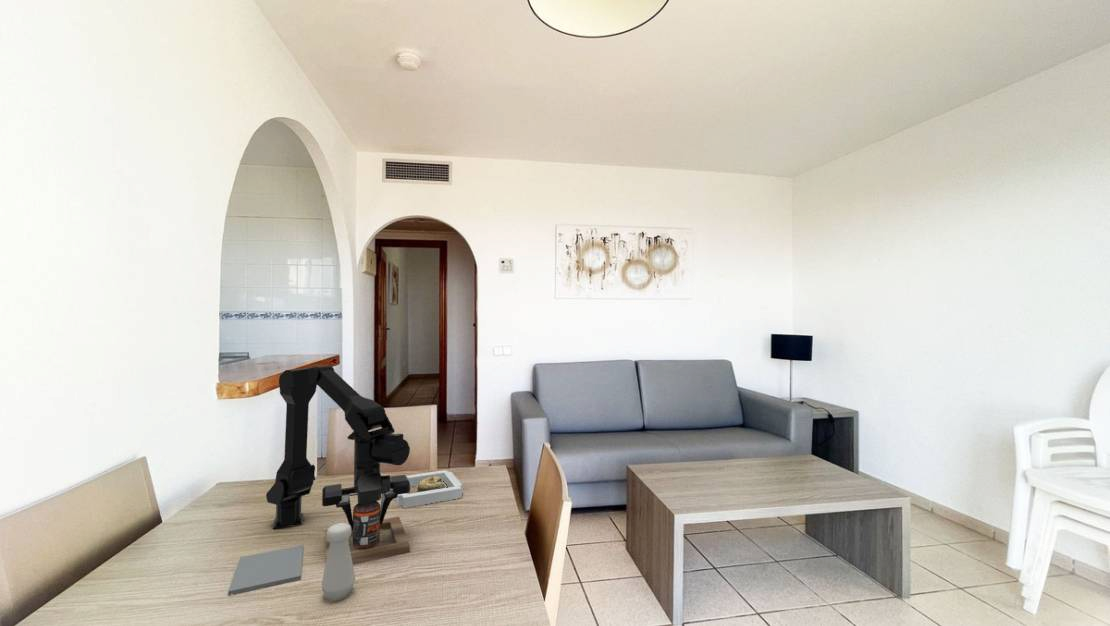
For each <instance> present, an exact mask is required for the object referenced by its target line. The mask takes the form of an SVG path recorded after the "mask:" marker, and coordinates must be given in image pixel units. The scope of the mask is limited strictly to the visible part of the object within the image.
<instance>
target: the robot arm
mask: <svg viewBox="0 0 1110 626" xmlns="http://www.w3.org/2000/svg"><path fill="white" fill-rule="evenodd" d="M278 386H279V387H278V388H279V394H280V397H282V400H284V403H286V412H285V413H286V414H285V431H284V433H285V434H284V436H285V437H284V438H285V439H284V459H283V461H282V463H281V465H280V466H279V468H278V469H277V471H276V476H275V481H274V484H273V485H272V486H271V487H270V488H269V490H268V491H267V492H266V494H265V495H266V496H265V497H266V501H267V503H269V504H273V505H275V517H274V521H273V524H272V529H273V530H277V529H282V528H289V527H293V526H299V525H303V523H304V522H303V521H304V512H302V505H303V504H302V497H304V496H306V495H310V494H311V490H312V488H313V487H312V486H314V481H315V480H316V477H315V473H316V466H315V464H311V463H310V461H309V460H308V458H307V455H308V452H307V451H308V430H309V429H308V427H309V404H310V402H311V400H312V398H313V397H314V395H315V393H316V392H317V388H318V387H319V388H320V389H321V390H322V391H323V392H324V393H325V394H326V395H327V397H329V398H330V399H331V400H332V402H334V403H335V404H337V406H338V407H340V409H341V410H342V411H343V412H344V421H346V423H347V424H348V425H349V427H350V428H351V430H352V432H351V433H350V434H349V435H348V436H347V440H351V441H354V447H353V449H354V451H353V453H354V454H353V455H354V456H353V486H350V487H344V488H343V487H342V484H341V483H337V484H329V485H325V486H323V488H322V492H321V495H322V497H321V505H322V507H330V506H331V507H332V506H335V507H336V508H337V509H338V508H341V509H342V510H343V512H344V514H345V516H346V519H347V522H348V524H349V525H350V526H351V530H353V511H352V506H351V499H350V497H354V496H357V503H358V502H359V503H365V502H369V501H377V502H379V501H380V524H382V523H383V520H384V519H385V516H386V514H387V511H388V509H389V506H390V504H391V502H392V501H393V500H394V499H395V498H397V497H398V495H399V494H405V493H407V494H410V493H411V487H410V482H409V480H408V478H407V476H408V475H406V474H400V475H399V474H398V475H393V476H390V475H388V474H387V475H381V464H385V465H387V464H388V465H393V466H402V465H403V464H404V463H406V461H407V460H408V458H409V455H410V452H411V451H410V450H411V449H410V448H411V447H410V445H409V442H408V441H407V440H406V439H404V433H395V432H396V431H395V427H394V426H393V424H392V423H391V421H390V419H389V417H388V414H387V412H386V410H385V408H384V407H383V406H382V405H381V404H380V403H378V402H376V401H375V400H373V399H370V398H367V397H364V396H362V395H360V394H359V393H358V392H357V391H356V390H355V389H354V388H353V387H352V386H351V385H350V384H349V383H347V382H346V381H345V380H344V378H343V377H341V375H339V374H338V373H337V372H336V370H335V368H334V367H333V366H331V365H328V364H326V365H315V366H312V367H303V368H294V369H293V368H292V369H285V370H284V371H283V372H282V373H281V374H280V375H279V379H278Z"/></svg>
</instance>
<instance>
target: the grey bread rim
mask: <svg viewBox="0 0 1110 626" xmlns="http://www.w3.org/2000/svg"><path fill="white" fill-rule="evenodd" d="M432 475H433V476H434V477H435V476H436V477H440V478H441V479H442V480H441V481H444V482H445V483H446V484H447V486H448V488H442V489H436V490H429V491H423V492H417V491H416V492H417V493H416V492H412V493H411V492H410V493H405V494H399V495H398V497H397V498H394V499H395V501H396V504H397V506H398V507H402V509H403V510H404V509H409V507H410V508H414V506H416V507H420V506H419V505H422V506H426V505H425V504H428V505H431V504H430V503H433V504H436V503H435V502H439V503H441V502H440V501H445V500H450V501H453V500H452V499H456V500H459V499H458V498H461V499H462V496H463V495H462V494H463V489H464V488H463V484H462V483H461V481H460V480H459V479H458V477H456V475H455V474H454V473H453V472H452V471H448V470H447V469H445V470H444V469H443V470H437V471H431V472H422V473H417V474H410V475H409V474H407V475H406V476H407V478H408V480H409V482H410V488H413V487H412V486H415V487H418V486H417V485H418V484H419V482H420V481H421V480H423V479H427V478H429V477H432ZM444 482H443V483H444ZM445 483H444V484H445ZM446 484H445V485H446ZM447 486H446V487H447ZM445 502H446V501H445Z"/></svg>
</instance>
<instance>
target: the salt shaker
mask: <svg viewBox="0 0 1110 626" xmlns="http://www.w3.org/2000/svg"><path fill="white" fill-rule="evenodd" d="M327 529H328V530H327ZM327 529H326V530H327V541H329V542H330V546H329V551H328V556H327V561H326V560H325V564H324V565H325V567H324V571H323V576H322V581H321V590H322V593H323V595H324V597H325V599H326V600H329V601H332V602H336V601H340V600H343V599H346V597H347V596H349V594H350V593H351V592H352V589H353V587H354V585H355V581H356V576H355V571H354V570H355V569H354V564H352V558H351V548H350V543H349V538H351V537H352V535H351V526H350V525H349V523H346V522H340V523H339V522H338V523H336V524H332V525H331V526H329V528H327Z"/></svg>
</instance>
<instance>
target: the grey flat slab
mask: <svg viewBox="0 0 1110 626" xmlns="http://www.w3.org/2000/svg"><path fill="white" fill-rule="evenodd" d="M303 558H304V544H301V545H296V546H291V547H285V548H280V549H276V550H271V551H270V550H269V551H265V552H258V553H255V554H249V555H244V556H240V557H239V560H238V563H237V565H236V568H235V571H234V573H233V576H232V579H231V583H230V584H229V587H228V590H227V596H228V595H229V596H232V595H231V594H233V595H238V594H243V593H246V592H251V591H256V590H260V589H264V588H269V587H273V586H274V587H275V586H278V585H282V584H286V583H291V582H296V581H300V580H302V569H303ZM242 592H243V593H242ZM237 593H238V594H237Z"/></svg>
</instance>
